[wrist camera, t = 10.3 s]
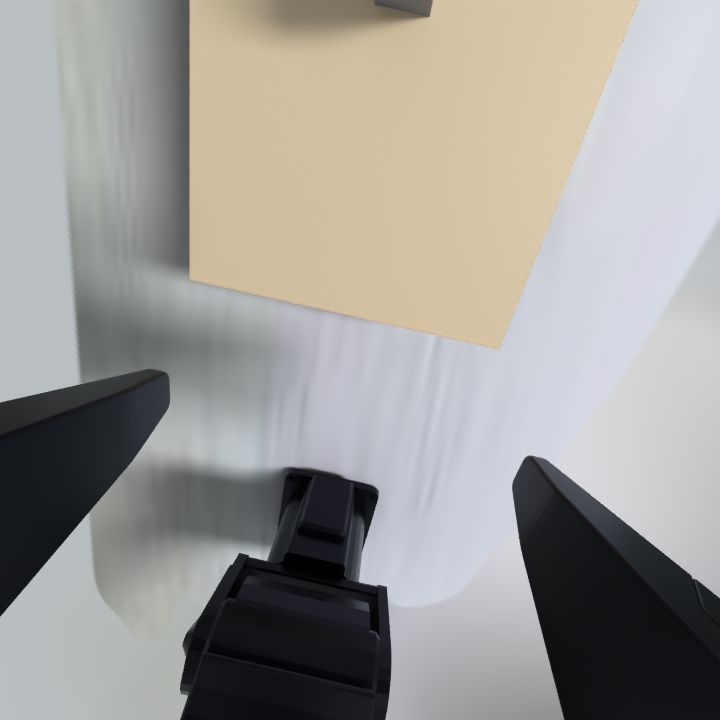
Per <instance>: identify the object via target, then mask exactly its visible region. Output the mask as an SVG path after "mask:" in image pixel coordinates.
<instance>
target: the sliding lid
mask: <svg viewBox="0 0 720 720" xmlns="http://www.w3.org/2000/svg"><path fill="white" fill-rule="evenodd" d="M638 2H639V0H190V271H189V280H194V281H198V282H202V283H207V284H211V285H216V286H220V287H225V288H229V289H233V290H238V291H242V292H247V293H251V294H256V295H260V296H264V297H269V298H273V299H278V300H282V301H287V302H291V303H295V304H300V305H304V306H309V307H313V308H318V309H322V310H326V311H331V312H335V313H340V314H344V315H349V316H353V317H357V318H362V319H366V320H371V321H375V322H380V323H384V324H388V325H393V326H397V327H402V328H406V329H411V330H415V331H419V332H424V333H428V334H433V335H437V336H442V337H446V338H450V339H455V340H459V341H464V342H468V343H473V344H477V345H481V346H486V347H490V348H495V349H500V346H501V344H502V341H503V339H504V336H505V334H506V331H507V329H508V326H509V324H510V321H511V319H512V316H513V314H514V311H515V309H516V306H517V304H518V301H519V299H520V296H521V294H522V291H523V289H524V286H525V284H526V281H527V279H528V276H529V274H530V271H531V269H532V266H533V264H534V261H535V259H536V256H537V254H538V252H539V249H540V247H541V244H542V242H543V239H544V237H545V234H546V232H547V229H548V227H549V224H550V222H551V219H552V217H553V214H554V212H555V209H556V207H557V204H558V202H559V199H560V197H561V194H562V192H563V189H564V187H565V184H566V182H567V179H568V177H569V174H570V172H571V169H572V167H573V164H574V162H575V159H576V157H577V154H578V152H579V149H580V147H581V144H582V142H583V139H584V137H585V134H586V132H587V129H588V127H589V124H590V122H591V119H592V117H593V114H594V112H595V109H596V107H597V104H598V102H599V99H600V97H601V94H602V92H603V89H604V87H605V84H606V82H607V79H608V77H609V74H610V72H611V69H612V67H613V64H614V62H615V59H616V57H617V54H618V52H619V49H620V47H621V44H622V42H623V39H624V37H625V35H626V32H627V30H628V27H629V25H630V22H631V20H632V17H633V15H634V12H635V10H636V7H637V5H638Z"/></svg>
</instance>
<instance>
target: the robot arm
mask: <svg viewBox="0 0 720 720" xmlns="http://www.w3.org/2000/svg"><path fill="white" fill-rule="evenodd" d="M169 404H170V384H169V375H168V374H167V373H166V372H163V371H159V370H154V369H147V370H142V371H138V372H133V373H129V374H125V375H120V376H116V377H111V378H107V379H102V380H98V381H94V382H89V383H85V384H80V385H76V386H72V387H67V388H63V389H58V390H54V391H49V392H45V393H40V394H36V395H32V396H27V397H23V398H19V399H14V400H9V401H5V402H1V403H0V616H1V615H2V614H3V613H4V612H5V610H6V609H7V608H8V607H9V606H10V605H11V603H12V602H13V601H14V600H15V599H16V598H17V596H18V595H19V594H20V593H21V592H22V590H23V589H24V588H25V587H26V586H27V585H28V583H29V582H30V581H31V580H32V579H33V577H34V576H35V575H36V574H37V573H38V571H39V570H40V569H41V568H42V567H43V566H44V564H45V563H46V562H47V561H48V560H49V559H50V557H51V556H52V555H53V554H54V553H55V552H56V550H57V549H58V548H59V547H60V546H61V544H62V543H63V542H64V541H65V540H66V539H67V537H68V536H69V535H70V534H71V533H72V531H73V530H74V529H75V528H76V527H77V526H78V524H79V523H80V522H81V521H82V519H83V518H84V517H85V516H86V515H87V514H88V513H89V511H90V510H91V509H92V508H93V507H94V506H95V504H96V503H97V502H98V501H99V500H100V498H101V497H102V496H103V495H104V494H105V493H106V491H107V490H108V489H109V488H110V487H111V486H112V484H113V483H114V482H115V481H116V480H117V478H118V477H119V476H120V475H121V474H122V473H123V471H124V470H125V469H126V468H127V467H128V465H129V464H130V463H131V462H132V460H133V459H134V458H135V456H136V455H137V454H138V452H139V451H140V449H141V448H142V446H143V445H144V444H145V442H146V441H147V439H148V438H149V436H150V435H151V433H152V432H153V430H154V429H155V427H156V426H157V424H158V423H159V421H160V420H161V418H162V417H163V416H164V414H165V413H166V411H167V409H168V407H169ZM292 476H295V477H292ZM512 491H513V498H514V505H515V512H516V519H517V526H518V533H519V540H520V546H521V551H522V555H523V559H524V563H525V567H526V571H527V575H528V579H529V583H530V587H531V591H532V594H533V599H534V602H535V607H536V610H537V614H538V618H539V622H540V626H541V630H542V634H543V638H544V642H545V646H546V650H547V654H548V658H549V661H550V666H551V670H552V673H553V677H554V681H555V685H556V689H557V693H558V697H559V701H560V705H561V708H562V712H563V717H564V720H720V598H719V597H717V596H716V595H715V594H714V593H712V592H711V591H710V590H709V589H707V588H706V587H705V586H704V585H703V584H701V583H700V582H699V581H698V580H696V579H692V576H691V575H690V574H689V573H687V572H686V571H685V570H683V569H682V568H681V567H680V566H679V565H677V564H676V563H675V562H674V561H672V560H671V559H670V558H669V557H667V556H666V555H665V554H664V553H662V552H661V551H660V550H659V549H657V548H656V547H655V546H654V545H652V544H651V543H650V542H649V541H647V540H646V539H645V538H644V537H642V536H641V535H640V534H639V533H637V532H636V531H635V530H634V529H632V528H631V527H630V526H629V525H627V524H626V523H625V522H624V521H622V520H621V519H620V518H619V517H617V516H616V515H615V514H614V513H612V512H611V511H610V510H609V509H607V508H606V507H605V506H604V505H602V504H601V503H600V502H599V501H597V500H596V499H595V498H593V497H592V496H591V495H590V494H589V493H587V492H586V491H585V490H584V489H582V488H581V487H580V486H579V485H577V484H576V483H575V482H574V481H572V480H571V479H570V478H569V477H567V476H566V475H565V474H563V473H562V472H561V471H560V470H559V469H557V468H556V467H555V466H554V465H552V464H551V463H550V462H549V461H547V460H546V459H544V458H540V457H535V456H531V455H529V456H527V457H526V458H525V459H524V460H523V462H522V464H521V466H520V468H519V470H518V472H517V474H516V476H515V478H514V480H513V485H512ZM370 494H374V495H370ZM378 495H379V491H378V489H376V488H375V487H371V486H367V485H363V484H358V483H354V482H350V481H345V480H341V479H336V478H332V477H328V476H323V475H319V474H314V473H310V472H306V471H301V470H297V469H290V470H289V471H288V472H287V475H286V477H285V484H284V491H283V498H282V504H281V511H280V518H279V524H278V531H277V534H276V537H275V540H274V543H273V545H272V548H271V551H270V554H269V556H268V559H267V561H264V560H260V559H255V558H251V557H249V555H246V554H241V553H239V555H238V556H237V558H236V560H235V561H234V563H233V565H230V566H229V568H228V570H227V571H226V573H225V575H224V576H223V578H222V580H221V582H220V583H219V585H218V587H217V588H216V590H215V592H214V593H213V595H212V597H211V599H210V600H209V602H208V604H207V605H206V607H205V609H204V611H203V612H202V614H201V616H200V617H199V618H198V619H197V621H196V622H195V623H194V624H193V626H192V627H191V628H190V629H189V631H188V632H187V634H186V636H185V638H184V641H183V649H184V652H185V656H186V660H185V665H184V670H183V674H182V679H181V685H180V691H181V694H185V695H188V698H187V701H186V704H185V707H184V710H183V713H182V717H181V719H180V720H385V718H386V712H387V707H388V700H389V691H390V681H391V639H390V625H389V612H388V597H387V587H385V586H381V585H377V586H373V585H369V584H364V583H360V582H359V574H360V565H361V555H362V550H363V547H364V544H365V540H366V537H367V534H368V530H369V527H370V524H371V521H372V517H373V514H374V511H375V507H376V504H377V501H378Z"/></svg>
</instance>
